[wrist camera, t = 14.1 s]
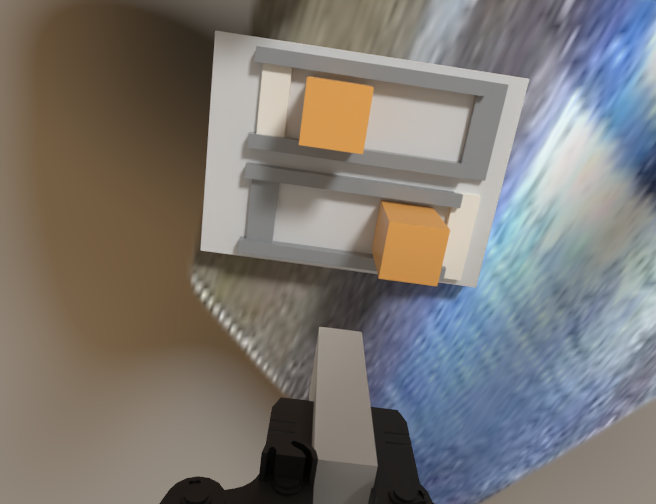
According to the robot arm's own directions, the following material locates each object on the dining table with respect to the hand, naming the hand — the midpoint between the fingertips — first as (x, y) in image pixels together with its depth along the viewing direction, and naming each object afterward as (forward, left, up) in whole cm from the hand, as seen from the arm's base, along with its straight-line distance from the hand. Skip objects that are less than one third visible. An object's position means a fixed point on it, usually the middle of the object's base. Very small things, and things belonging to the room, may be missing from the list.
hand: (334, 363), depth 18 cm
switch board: (-1, -3, -24) cm, 25 cm away
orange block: (+1, -7, -22) cm, 23 cm away
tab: (-6, +1, -22) cm, 23 cm away
